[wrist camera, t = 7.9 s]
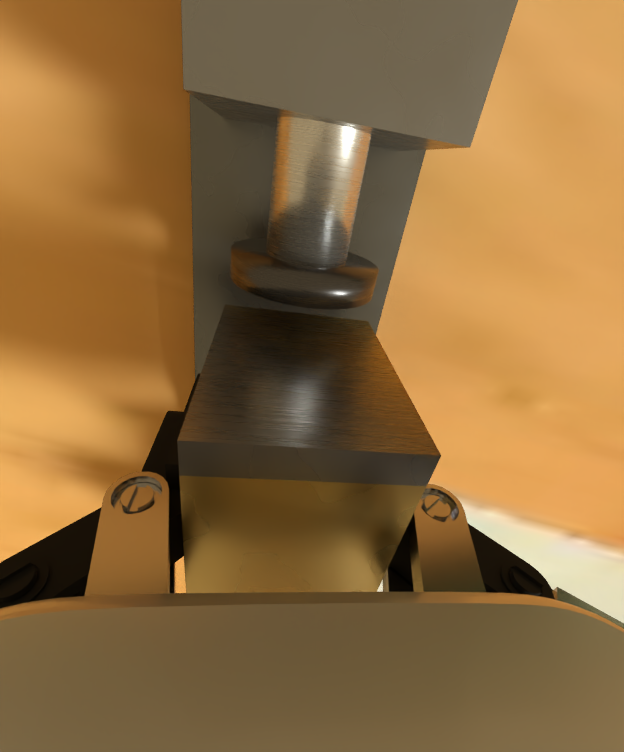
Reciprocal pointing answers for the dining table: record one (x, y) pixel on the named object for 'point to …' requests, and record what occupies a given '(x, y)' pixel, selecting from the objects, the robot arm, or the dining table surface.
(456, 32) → the shaft stand
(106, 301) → the dining table surface
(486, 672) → the robot arm
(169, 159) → the dining table surface
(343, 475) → the two-tone brushed block
